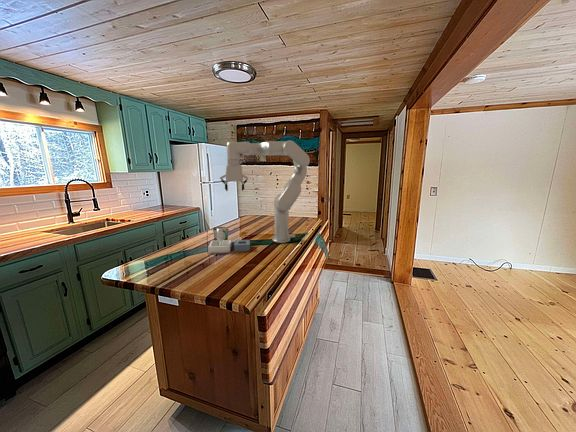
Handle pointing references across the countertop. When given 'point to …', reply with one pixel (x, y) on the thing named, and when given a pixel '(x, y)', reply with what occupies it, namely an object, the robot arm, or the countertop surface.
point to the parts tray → (219, 247)
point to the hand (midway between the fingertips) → (234, 190)
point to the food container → (225, 232)
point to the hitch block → (242, 245)
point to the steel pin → (220, 237)
